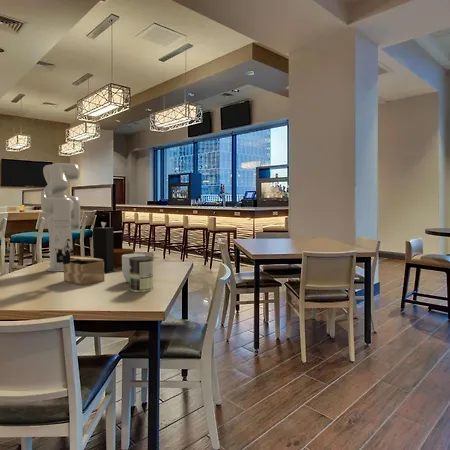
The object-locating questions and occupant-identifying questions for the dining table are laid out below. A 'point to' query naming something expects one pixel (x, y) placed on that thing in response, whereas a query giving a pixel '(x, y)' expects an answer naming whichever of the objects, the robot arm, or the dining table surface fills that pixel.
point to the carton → (84, 272)
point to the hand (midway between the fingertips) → (63, 262)
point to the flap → (82, 258)
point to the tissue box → (104, 246)
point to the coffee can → (141, 273)
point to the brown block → (120, 256)
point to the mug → (127, 265)
